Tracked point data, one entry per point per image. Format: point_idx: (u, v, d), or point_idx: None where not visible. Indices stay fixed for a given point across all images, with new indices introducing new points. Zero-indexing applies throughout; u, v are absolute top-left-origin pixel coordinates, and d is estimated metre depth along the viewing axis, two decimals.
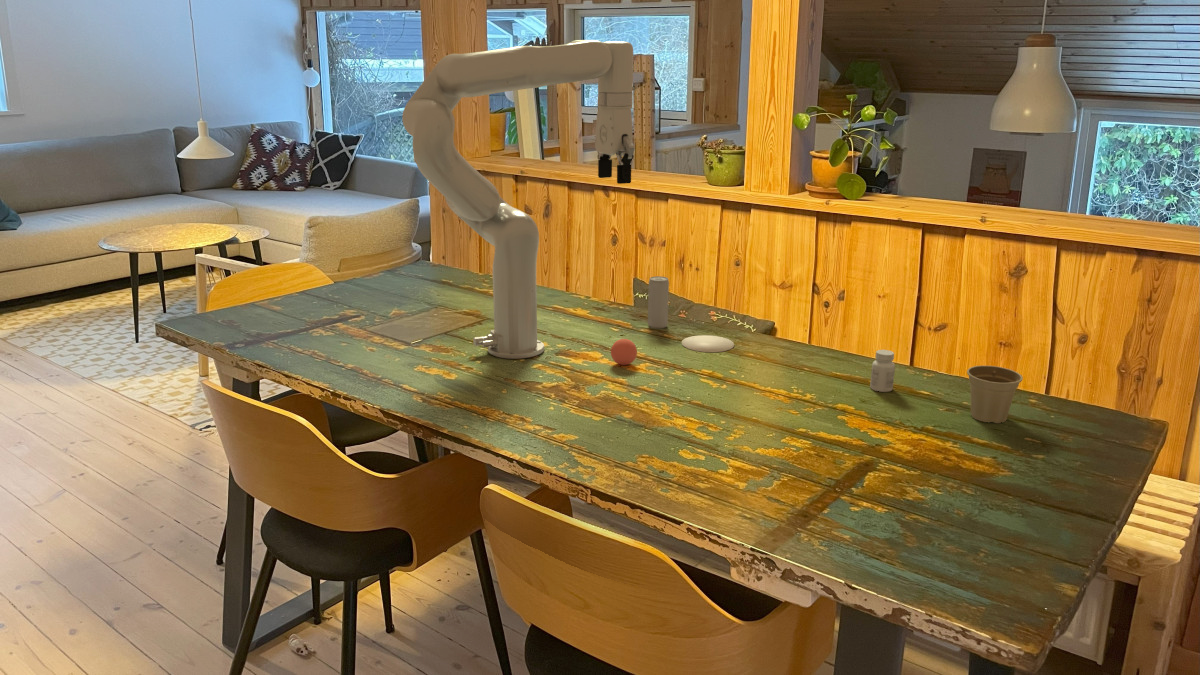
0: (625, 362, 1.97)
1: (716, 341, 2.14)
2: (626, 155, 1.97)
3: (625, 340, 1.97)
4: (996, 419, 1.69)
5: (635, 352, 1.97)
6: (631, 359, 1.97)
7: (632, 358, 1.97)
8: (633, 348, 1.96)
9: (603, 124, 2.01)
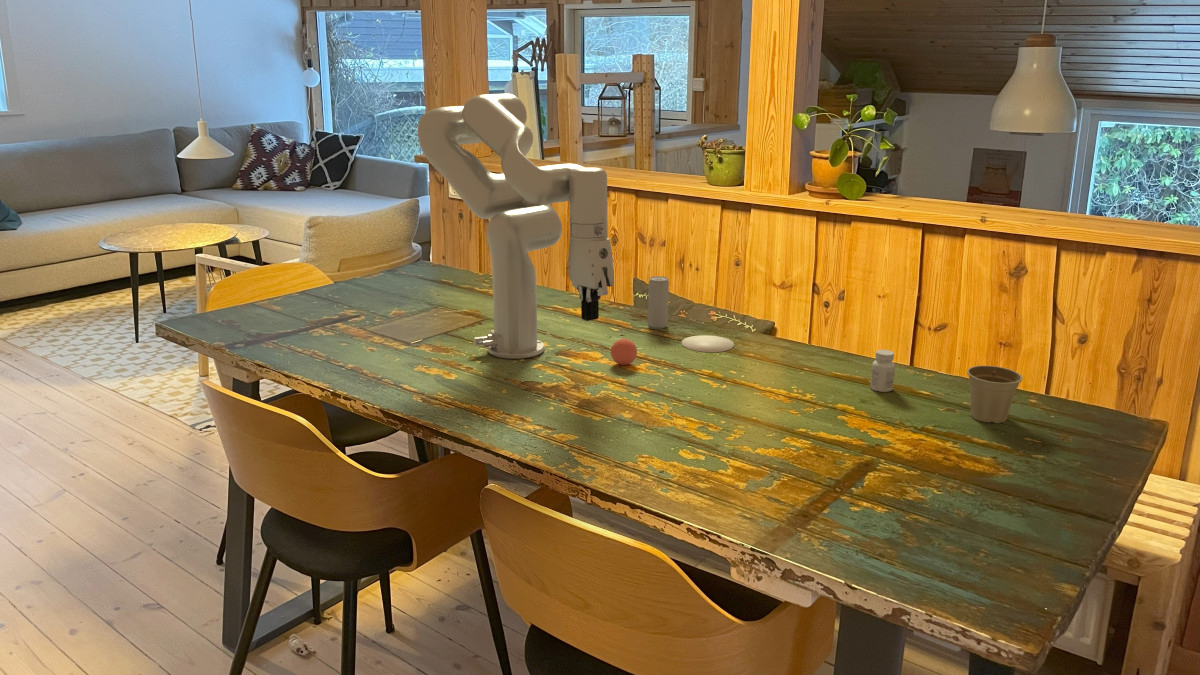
0: (625, 362, 1.97)
1: (716, 341, 2.14)
2: None
3: (625, 340, 1.97)
4: (996, 419, 1.69)
5: (635, 352, 1.97)
6: (631, 359, 1.97)
7: (632, 358, 1.97)
8: (633, 348, 1.96)
9: None
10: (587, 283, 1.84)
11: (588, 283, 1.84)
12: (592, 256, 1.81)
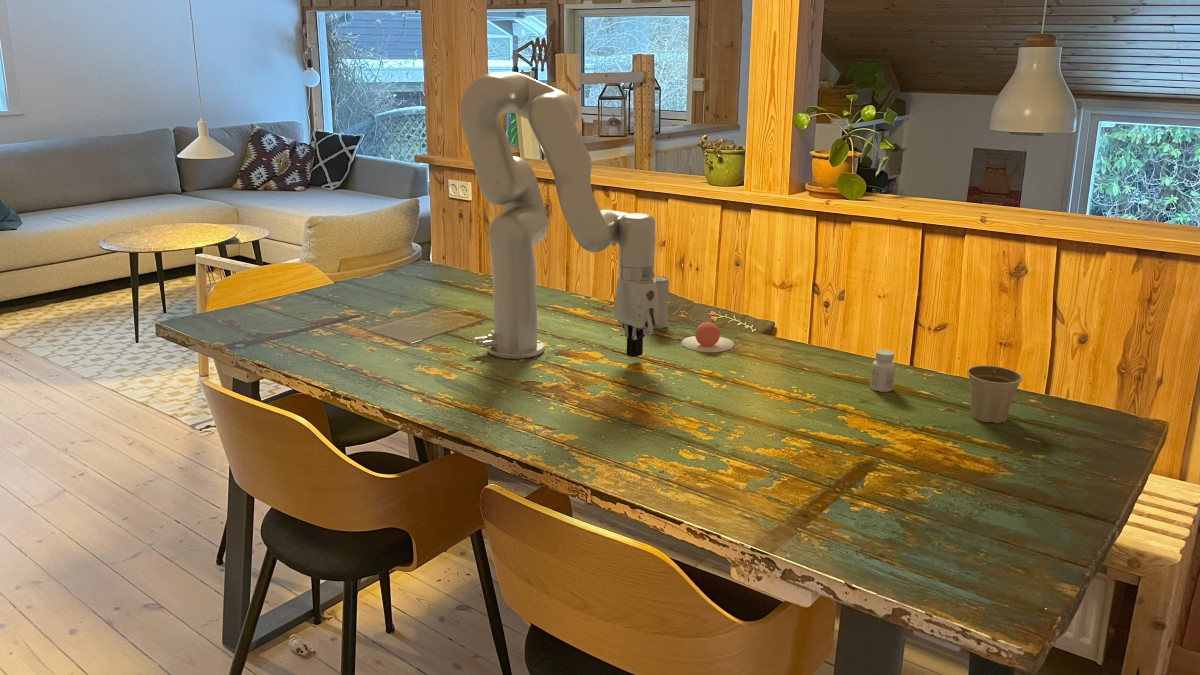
0: (708, 332, 2.08)
1: None
2: None
3: None
4: (996, 419, 1.69)
5: (714, 342, 2.09)
6: (711, 338, 2.08)
7: (712, 339, 2.08)
8: (717, 340, 2.10)
9: None
10: (634, 322, 1.95)
11: (635, 322, 1.95)
12: (639, 298, 1.92)
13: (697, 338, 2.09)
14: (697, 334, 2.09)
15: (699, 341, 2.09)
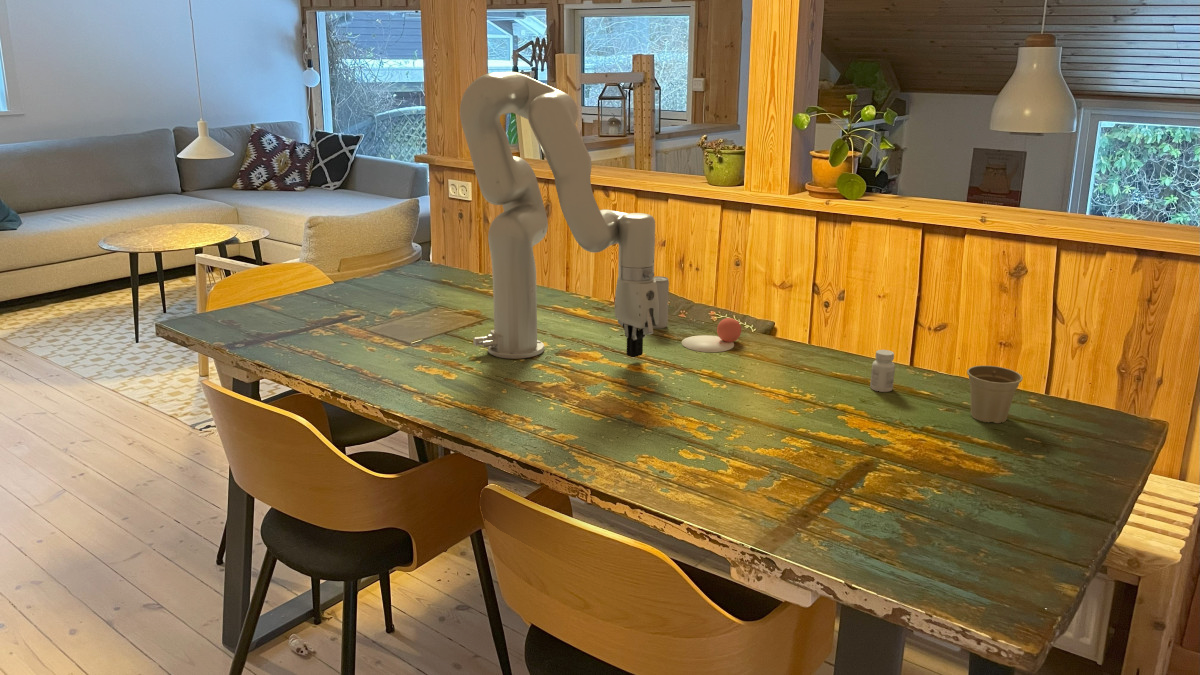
0: None
1: (716, 341, 2.14)
2: None
3: (723, 338, 2.13)
4: (996, 419, 1.69)
5: (732, 329, 2.11)
6: (739, 329, 2.12)
7: (738, 329, 2.12)
8: (730, 333, 2.11)
9: None
10: (634, 322, 1.95)
11: (635, 322, 1.95)
12: (639, 298, 1.92)
13: (733, 319, 2.14)
14: None
15: None
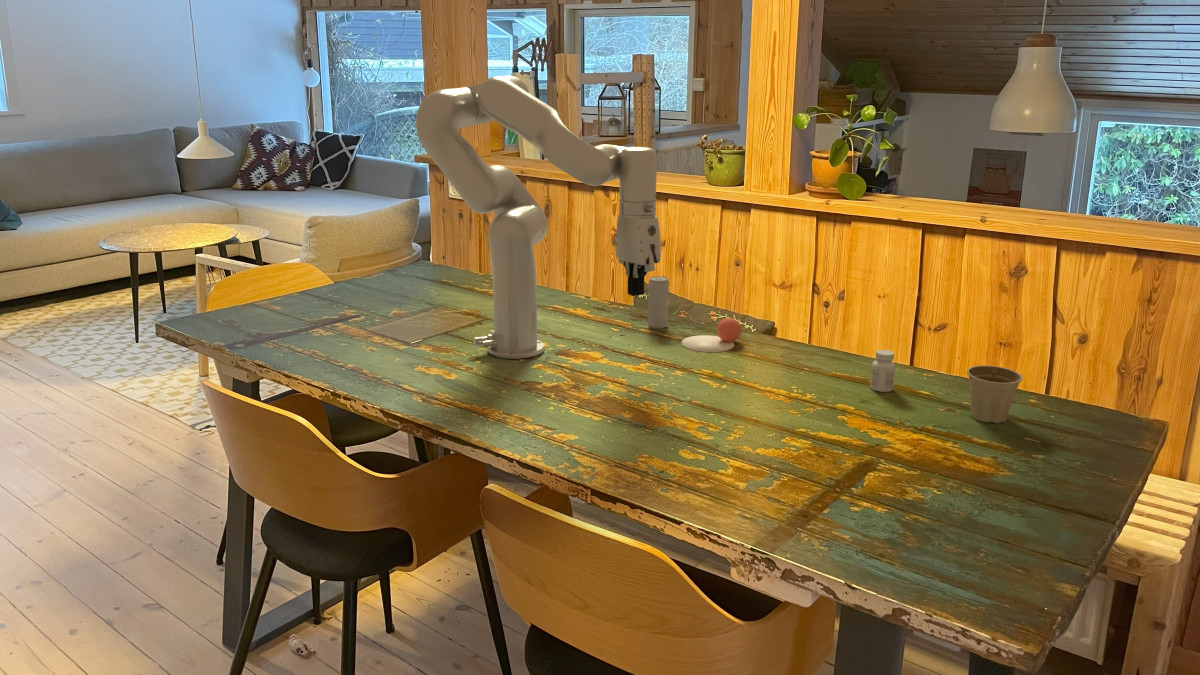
0: None
1: (716, 341, 2.14)
2: None
3: (723, 338, 2.13)
4: (996, 419, 1.69)
5: (732, 329, 2.11)
6: (739, 329, 2.12)
7: (738, 329, 2.12)
8: (730, 333, 2.11)
9: None
10: (635, 259, 1.91)
11: (636, 259, 1.90)
12: (641, 233, 1.88)
13: (733, 319, 2.14)
14: None
15: None
